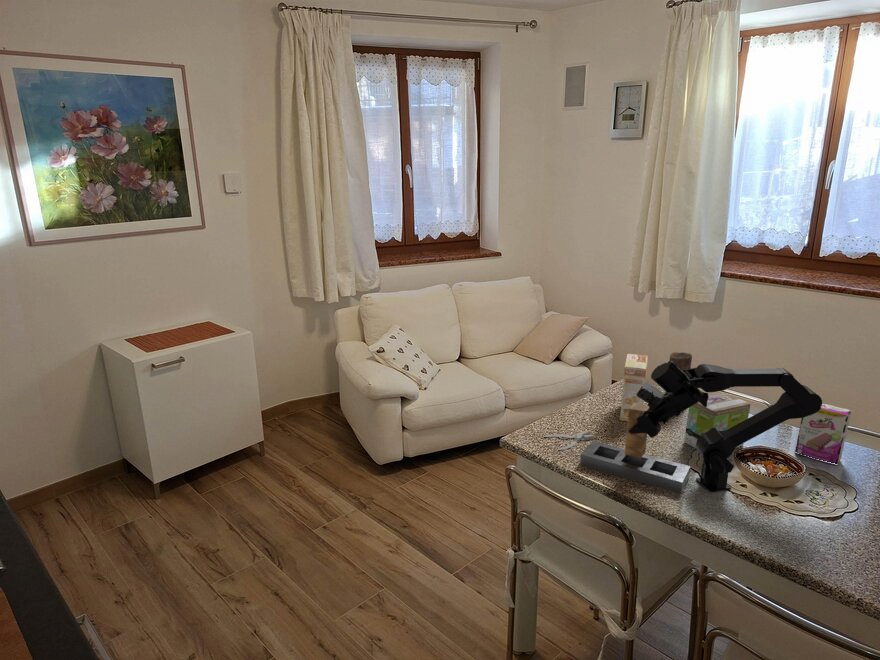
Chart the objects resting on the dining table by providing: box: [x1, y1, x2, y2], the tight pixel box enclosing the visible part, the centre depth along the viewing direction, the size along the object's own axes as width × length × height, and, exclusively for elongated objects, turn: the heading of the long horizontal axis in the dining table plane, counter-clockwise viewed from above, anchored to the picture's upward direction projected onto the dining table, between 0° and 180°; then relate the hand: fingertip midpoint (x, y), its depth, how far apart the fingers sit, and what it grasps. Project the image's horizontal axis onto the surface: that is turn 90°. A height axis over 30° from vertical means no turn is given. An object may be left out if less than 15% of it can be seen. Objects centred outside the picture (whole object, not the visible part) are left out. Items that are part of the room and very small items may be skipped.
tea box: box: [683, 392, 751, 450], centre depth 181 cm, size 15×10×15 cm
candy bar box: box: [794, 402, 852, 464], centre depth 172 cm, size 11×5×16 cm, turn 47°
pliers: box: [542, 430, 595, 451], centre depth 186 cm, size 10×2×15 cm
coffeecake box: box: [619, 353, 649, 422], centre depth 202 cm, size 15×7×20 cm, turn 159°
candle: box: [664, 351, 693, 394], centre depth 207 cm, size 8×7×20 cm
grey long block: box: [579, 440, 691, 495], centre depth 167 cm, size 28×10×4 cm, turn 56°
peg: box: [624, 403, 650, 458], centre depth 164 cm, size 4×4×14 cm
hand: (632, 428), depth 165 cm, fingers closed on peg, 4 cm apart
